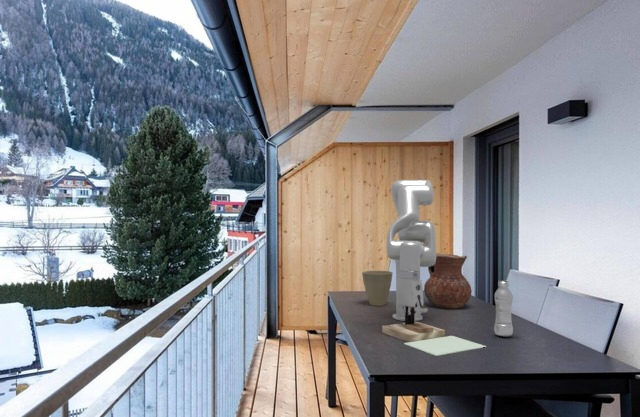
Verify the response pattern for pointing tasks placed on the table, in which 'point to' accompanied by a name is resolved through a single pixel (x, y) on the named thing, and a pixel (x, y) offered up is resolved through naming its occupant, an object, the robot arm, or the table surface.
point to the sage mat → (444, 345)
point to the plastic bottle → (503, 310)
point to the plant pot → (377, 286)
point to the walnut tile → (419, 328)
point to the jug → (447, 282)
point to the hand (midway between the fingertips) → (409, 324)
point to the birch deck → (411, 333)
